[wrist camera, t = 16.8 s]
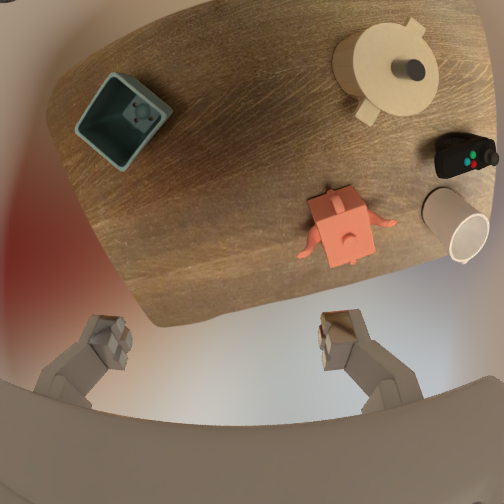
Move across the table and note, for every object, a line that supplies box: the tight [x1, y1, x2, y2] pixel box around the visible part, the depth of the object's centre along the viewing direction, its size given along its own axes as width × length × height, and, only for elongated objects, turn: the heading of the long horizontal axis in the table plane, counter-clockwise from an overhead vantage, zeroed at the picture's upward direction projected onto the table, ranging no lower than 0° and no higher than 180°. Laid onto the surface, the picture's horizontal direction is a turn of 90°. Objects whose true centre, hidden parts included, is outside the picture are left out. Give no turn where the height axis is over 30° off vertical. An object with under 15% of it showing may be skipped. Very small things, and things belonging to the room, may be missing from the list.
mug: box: [422, 187, 489, 264], centre depth 38 cm, size 11×9×10 cm
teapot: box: [297, 185, 397, 268], centre depth 39 cm, size 12×15×8 cm
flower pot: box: [75, 72, 173, 172], centre depth 29 cm, size 9×9×9 cm
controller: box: [434, 132, 499, 179], centre depth 31 cm, size 4×12×10 cm, turn 115°
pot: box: [332, 17, 426, 127], centre depth 26 cm, size 10×16×8 cm, turn 155°
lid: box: [351, 23, 439, 116], centre depth 21 cm, size 11×11×5 cm
